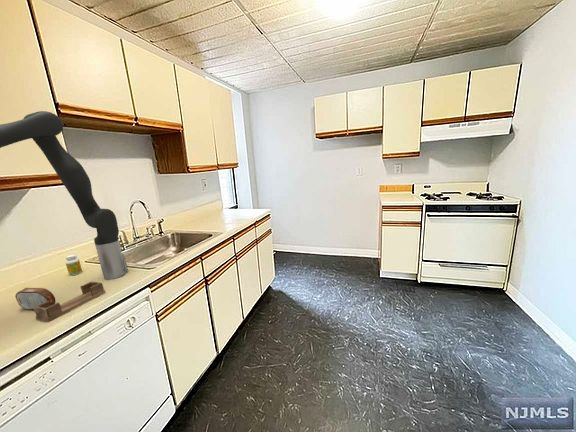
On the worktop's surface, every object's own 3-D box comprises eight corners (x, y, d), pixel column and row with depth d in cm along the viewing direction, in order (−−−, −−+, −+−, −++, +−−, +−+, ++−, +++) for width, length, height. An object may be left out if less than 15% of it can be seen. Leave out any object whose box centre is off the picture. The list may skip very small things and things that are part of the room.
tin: (58, 306, 97) (52, 286, 96) (50, 311, 94) (43, 291, 93) (27, 306, 100) (20, 286, 98) (17, 310, 97) (10, 291, 95)
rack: (36, 319, 90) (32, 307, 89) (94, 291, 108) (91, 281, 107) (48, 322, 87) (44, 310, 86) (105, 292, 106) (102, 282, 105)
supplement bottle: (71, 276, 126) (66, 258, 124) (67, 274, 129) (62, 257, 127) (84, 272, 130) (79, 254, 128) (80, 270, 133) (75, 253, 131)
